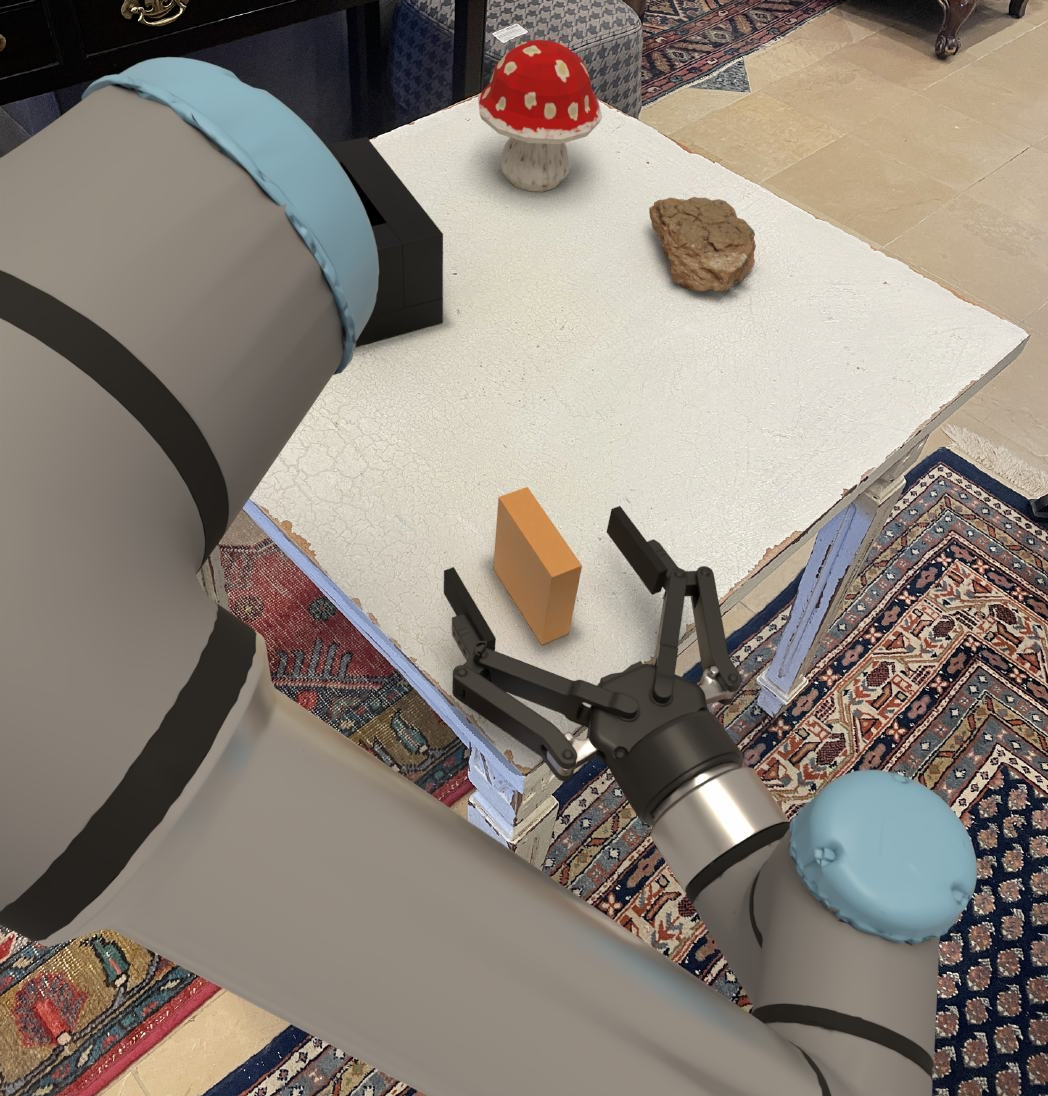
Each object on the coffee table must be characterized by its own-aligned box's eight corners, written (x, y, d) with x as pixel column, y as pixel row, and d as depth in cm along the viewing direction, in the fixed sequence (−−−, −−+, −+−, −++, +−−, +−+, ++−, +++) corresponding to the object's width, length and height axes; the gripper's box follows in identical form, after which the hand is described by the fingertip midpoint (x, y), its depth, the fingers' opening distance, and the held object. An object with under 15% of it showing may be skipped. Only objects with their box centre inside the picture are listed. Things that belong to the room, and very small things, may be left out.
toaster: (314, 358, 90) (302, 267, 82) (252, 252, 99) (236, 162, 91) (442, 323, 94) (443, 233, 86) (372, 225, 104) (366, 136, 96)
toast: (541, 645, 72) (551, 577, 65) (492, 568, 76) (498, 496, 69) (569, 633, 72) (582, 565, 66) (519, 558, 77) (527, 486, 70)
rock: (768, 302, 100) (782, 261, 96) (667, 303, 99) (676, 261, 95) (737, 229, 108) (748, 188, 104) (643, 229, 107) (651, 188, 103)
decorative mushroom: (488, 138, 116) (493, 7, 105) (601, 157, 116) (619, 26, 104) (462, 199, 108) (464, 63, 96) (583, 220, 107) (601, 85, 95)
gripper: (512, 909, 57) (375, 638, 68) (834, 743, 66) (666, 526, 77) (521, 863, 51) (370, 575, 63) (873, 688, 60) (685, 462, 71)
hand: (533, 548), depth 70 cm, fingers open, 13 cm apart
